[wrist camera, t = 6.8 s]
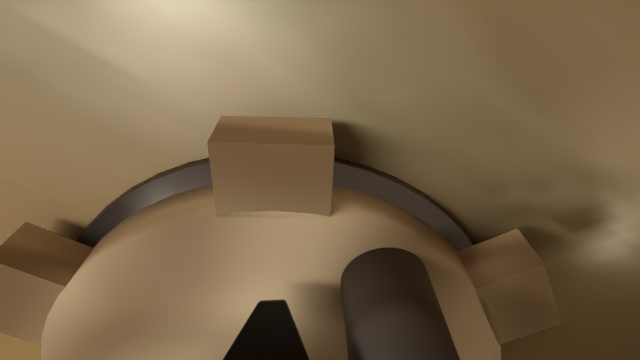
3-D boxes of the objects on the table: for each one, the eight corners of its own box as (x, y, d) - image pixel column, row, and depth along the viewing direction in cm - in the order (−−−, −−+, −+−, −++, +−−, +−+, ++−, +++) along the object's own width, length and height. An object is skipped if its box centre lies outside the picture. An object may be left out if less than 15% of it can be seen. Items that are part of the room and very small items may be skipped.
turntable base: (242, 472, 21) (241, 481, 20) (-37, 292, 14) (-46, 301, 13) (539, 368, 17) (544, 376, 17) (364, 41, 10) (366, 44, 9)
